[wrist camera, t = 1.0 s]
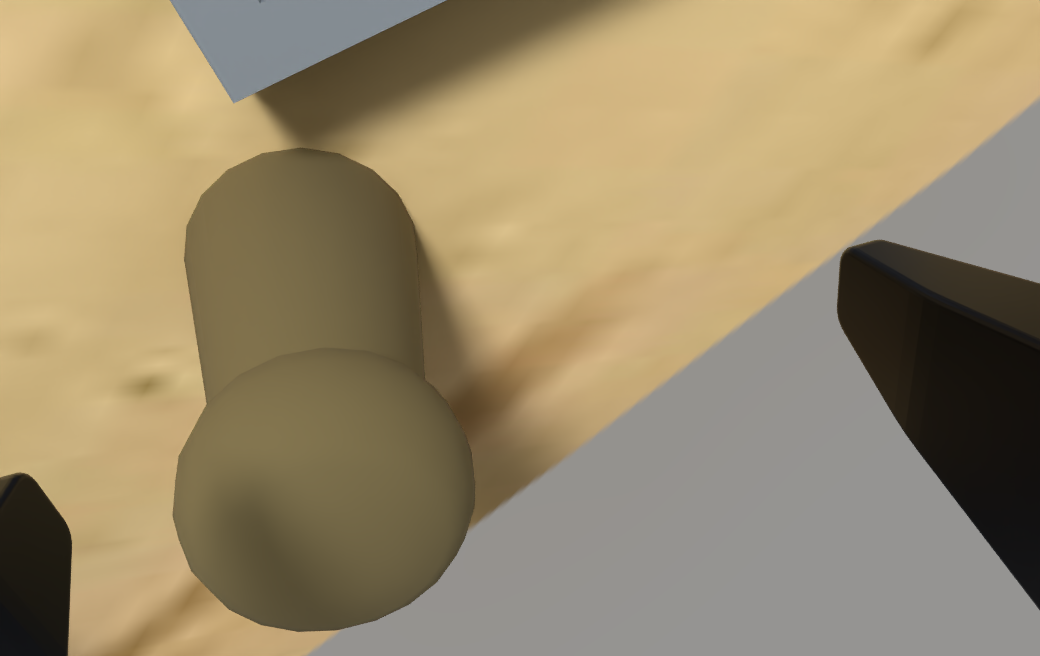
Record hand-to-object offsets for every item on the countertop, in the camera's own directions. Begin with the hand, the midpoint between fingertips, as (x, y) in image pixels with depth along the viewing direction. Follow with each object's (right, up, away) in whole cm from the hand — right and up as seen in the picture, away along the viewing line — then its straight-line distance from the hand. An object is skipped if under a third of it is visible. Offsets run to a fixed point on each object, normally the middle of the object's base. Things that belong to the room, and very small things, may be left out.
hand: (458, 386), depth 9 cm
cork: (-5, +3, +14) cm, 15 cm away
